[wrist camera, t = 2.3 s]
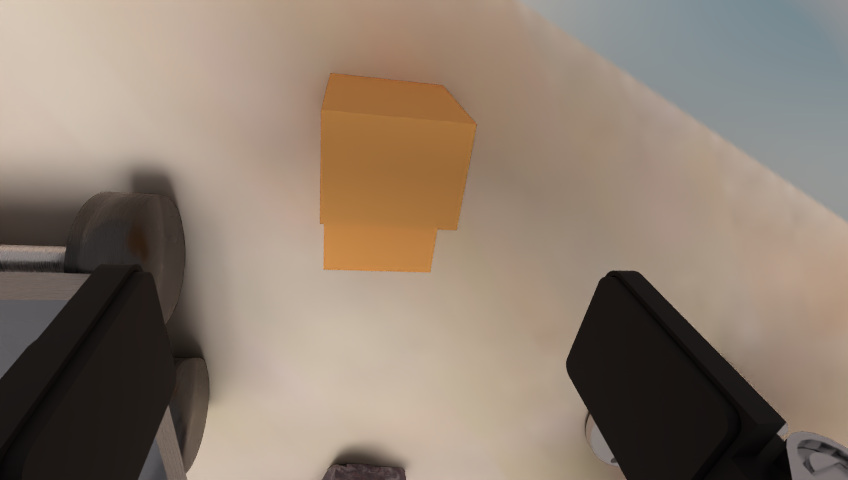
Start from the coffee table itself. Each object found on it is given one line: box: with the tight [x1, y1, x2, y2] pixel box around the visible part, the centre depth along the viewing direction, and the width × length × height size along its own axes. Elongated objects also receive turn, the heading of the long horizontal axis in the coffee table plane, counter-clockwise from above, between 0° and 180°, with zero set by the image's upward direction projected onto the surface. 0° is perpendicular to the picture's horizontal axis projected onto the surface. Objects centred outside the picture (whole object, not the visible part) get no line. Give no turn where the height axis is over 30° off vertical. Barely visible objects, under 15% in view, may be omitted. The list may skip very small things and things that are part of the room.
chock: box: [320, 73, 477, 272], centre depth 18 cm, size 5×8×6 cm, turn 173°
